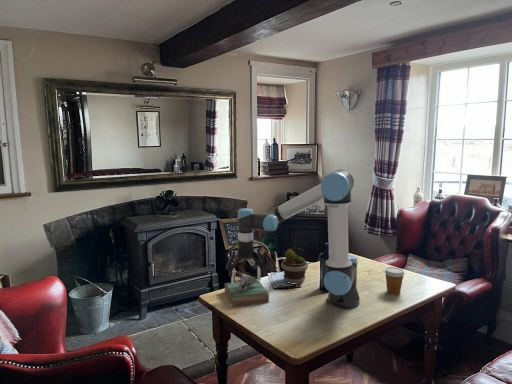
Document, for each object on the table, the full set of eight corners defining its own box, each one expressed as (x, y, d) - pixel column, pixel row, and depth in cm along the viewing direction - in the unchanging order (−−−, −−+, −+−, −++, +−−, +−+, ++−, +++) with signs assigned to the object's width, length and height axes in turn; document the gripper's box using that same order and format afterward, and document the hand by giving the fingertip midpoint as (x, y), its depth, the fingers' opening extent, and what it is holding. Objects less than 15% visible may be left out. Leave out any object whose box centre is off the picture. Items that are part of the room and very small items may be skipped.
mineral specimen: (241, 296, 191) (253, 296, 183) (230, 288, 188) (241, 288, 180) (249, 278, 195) (261, 279, 188) (238, 270, 192) (250, 270, 184)
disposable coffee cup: (393, 297, 188) (394, 274, 187) (379, 290, 197) (380, 268, 195) (407, 294, 192) (408, 271, 190) (393, 287, 201) (394, 265, 199)
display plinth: (268, 302, 184) (268, 292, 183) (232, 307, 179) (232, 297, 178) (258, 287, 201) (257, 278, 200) (224, 292, 196) (224, 282, 195)
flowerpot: (296, 274, 220) (296, 241, 217) (313, 282, 207) (314, 247, 204) (275, 279, 213) (275, 244, 210) (292, 288, 200) (292, 252, 197)
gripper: (267, 236, 192) (267, 275, 196) (219, 240, 185) (219, 281, 188) (272, 239, 185) (272, 281, 188) (222, 244, 178) (222, 287, 181)
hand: (245, 281), depth 188 cm, fingers open, 13 cm apart
